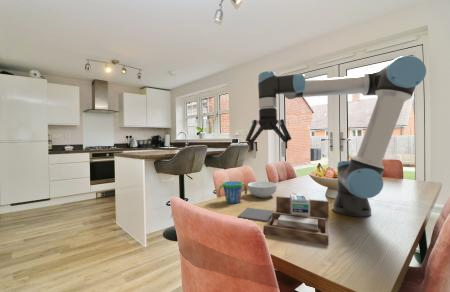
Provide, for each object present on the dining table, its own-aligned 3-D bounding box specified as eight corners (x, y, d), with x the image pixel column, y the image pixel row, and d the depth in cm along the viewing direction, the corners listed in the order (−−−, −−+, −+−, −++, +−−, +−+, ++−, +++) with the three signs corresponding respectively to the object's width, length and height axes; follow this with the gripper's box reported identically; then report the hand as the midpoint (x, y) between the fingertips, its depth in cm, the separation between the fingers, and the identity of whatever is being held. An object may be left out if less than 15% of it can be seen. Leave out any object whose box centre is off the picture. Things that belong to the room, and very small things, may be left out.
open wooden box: (328, 220, 94) (328, 201, 93) (328, 244, 72) (328, 219, 72) (276, 213, 102) (276, 196, 102) (263, 234, 81) (263, 211, 81)
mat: (274, 212, 105) (274, 210, 105) (267, 221, 93) (267, 220, 93) (247, 208, 110) (247, 207, 110) (237, 217, 98) (237, 216, 98)
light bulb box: (310, 228, 85) (310, 200, 85) (292, 227, 87) (292, 199, 86) (306, 218, 96) (306, 193, 96) (289, 217, 97) (289, 192, 97)
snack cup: (220, 205, 116) (219, 185, 115) (217, 200, 126) (216, 181, 126) (249, 203, 118) (249, 184, 118) (244, 198, 129) (244, 180, 128)
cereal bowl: (256, 191, 146) (256, 180, 146) (281, 194, 136) (281, 183, 136) (242, 197, 132) (242, 184, 132) (269, 201, 122) (268, 188, 122)
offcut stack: (320, 234, 81) (320, 219, 81) (320, 241, 76) (320, 225, 75) (274, 228, 87) (274, 214, 87) (272, 234, 81) (271, 219, 81)
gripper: (290, 109, 106) (291, 155, 106) (237, 110, 101) (239, 157, 102) (298, 107, 98) (299, 156, 99) (242, 107, 94) (243, 159, 95)
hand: (269, 157), depth 101 cm, fingers open, 13 cm apart
